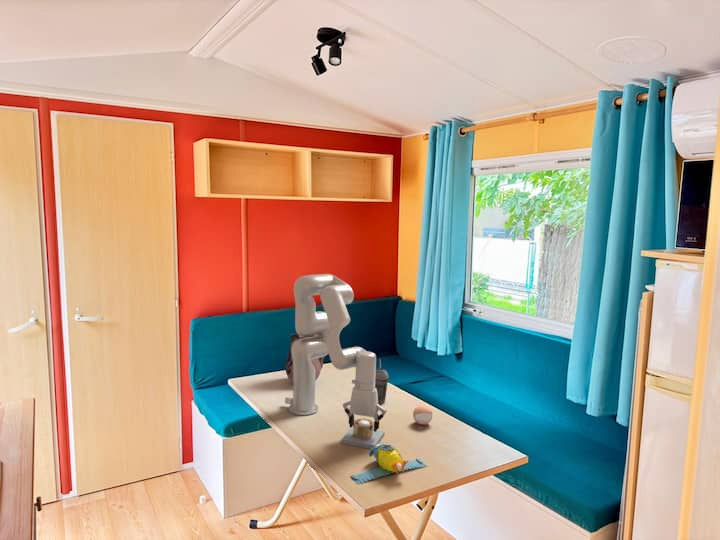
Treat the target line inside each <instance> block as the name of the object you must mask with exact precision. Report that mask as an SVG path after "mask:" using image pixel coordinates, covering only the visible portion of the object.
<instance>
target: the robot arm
mask: <svg viewBox="0 0 720 540" xmlns="http://www.w3.org/2000/svg"><path fill="white" fill-rule="evenodd" d="M293 294H294V301H295V310H294V311H295V313H294V314H295V315H294V316H295V318H294V319H295V320H294V323H295V331H296V334H299V335H301V336H307V335H313V334H315V336H314V337H308V338H303V339H299V340H297V341H295V342H294V343H293V345H292V348H291V352H292V358H293V382H292V397H285V399H284V401H285V402H284V404H289V405H290V406H288V411H289V412H290V413H291V414H292V415H297V416H309V415H313V414H316V413H317V412H318V411H319V406H318V404H317V403H316V381H315V373H316V372H315V367H314V365H313V364H312V362H311V360H312V359H316V358H320V357H324V356H325V357H326V356H328V355H329V359H330V361H331V364H332V365H333V367H334V368H335V369H336V370H339V371H343V370H347V369H351V368H355V379H352V380H351V384H354V385H353V387H352V390H351V394H350V395H351V397H350V400H349V401H346V402H344V403H342V407H343V410H344V412H345V413H346V415H347V418H348V424H349V428H352V427H353V422H354V421H355V415H356V416H361V417H368V418H373V419H374V421H373V423H374V424H373V430H374V432H376V431H377V430H379V429H380V421H381V420H382V419H383V418H384V417H385V415H386V414H387V411H388V410H387V409H385V407H383V406H381V404H378V395H377V389H376V388H375V375H376V370H377V355H376V353H374V352H372V351H369V350H368V351H367V350H366V349H364V348H363V347H360V346H353V347H347V348H343V349H342V347H341V342H340V333H341V332H342V330H343V328H345V327H347V325H349V324H350V322H351V317H350V314H349V312H348V309H347V306H346V305H349V304H351V303H352V302H354V297H355V295H354V294H355V293H354V291H353V289H352V287H351V285H349V284H348V283H346V282H345V281H344V280H342V279H340V278H339V277H338V276H336V275H333V274H331V273H321V274H320V273H319V274H309V275H302V276H300V277H298V278H297V279H296V280H295V282H294V285H293ZM313 296H319V298H320V301H321V304H322V307H323V310H324V311H320V310H319V311H316V310H317V309H316V308H317V307H316V306H317V305H316V301H315V299H314V297H313ZM325 357H324V358H325ZM348 406H349V407H348ZM379 411H380V412H381V413H380V414H379V413H378V412H379Z"/></svg>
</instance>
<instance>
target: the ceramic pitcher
mask: <svg viewBox="0 0 720 540" xmlns="http://www.w3.org/2000/svg"><path fill="white" fill-rule="evenodd" d="M314 336H315V334H313V335H307V336H301V335H299V334H298V333H291V334H290V341H291V342H290V346H289V347H290V348H289V350H288V351H289V352H288V354H287V358H286V363H285V373H286V376H287V379H289V381H290V382H291V383H293V358H292V352H291V348H292V345H293V343H294V342H295V341H297V340H299V339H303V338H308V337H314ZM325 357H326V356H324V357H320V358H316V359H312V360H311V362H312V364H313V365H314V367H315V372H316V373H315V382H316V381H317V379H318V378H319V377H320V375H321V371H322V369H323V366H324V359H325Z"/></svg>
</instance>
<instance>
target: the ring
mask: <svg viewBox="0 0 720 540" xmlns="http://www.w3.org/2000/svg"><path fill="white" fill-rule="evenodd" d="M362 420H365V421H368V422H370V425H368V426H359V425H358V422H359V421H362ZM352 427H353V436H354V437H355V438H357V439H361V440H367V439H370V438H372V437H373V430H374V421H373V420H371V419H369V418H368V419H367V418H358V419H354V422H353V426H352Z"/></svg>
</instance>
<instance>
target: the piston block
mask: <svg viewBox="0 0 720 540" xmlns="http://www.w3.org/2000/svg"><path fill="white" fill-rule="evenodd" d="M358 425H359V426H368V425H370V422H368V421H365V420H362V421H359V422H358ZM383 436H385V431H384V430H379V429H377V431H376V432H374V429H373V437H372V438H370V439H367V440H361V439H357V438H355V437H354V436H353V426H352V427H350V429H349V430H348V431H347V433H345V435H344V436H343V437H342V438H341V444H343V445H347V446H348V445H349V446H353V447H358V446H359V448H365V449H370V450H371V449H372V448H373V447H374V446H375V445H376V444H377V443H378V444H380V442H381V441H382V440H381V439H383V438H384V437H383Z"/></svg>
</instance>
